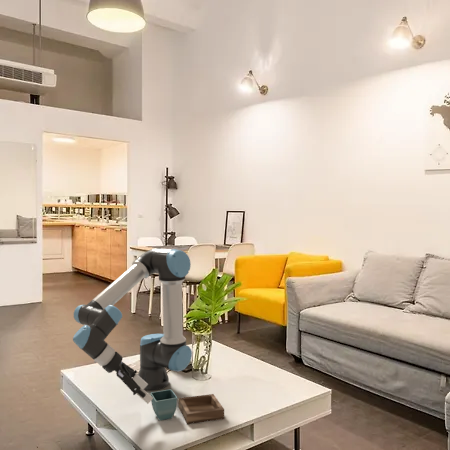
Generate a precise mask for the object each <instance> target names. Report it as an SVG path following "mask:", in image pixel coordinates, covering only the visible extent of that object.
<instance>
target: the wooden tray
mask: <svg viewBox="0 0 450 450" xmlns="http://www.w3.org/2000/svg"><path fill="white" fill-rule="evenodd" d="M178 409H179V412H180V414H181V415H182V417H183V419H184V421H185V424H186V425H193V424H200V423H201V424H202V423H207V422H214V421H222V420H225V408H224V407H223V405H222V404H221V403H220V401H219V400H218V398H217V397H216V396H215V393H210V394H209V393H208V394H203V395H194V396H192V395H191V396H185V397H179V398H178Z"/></svg>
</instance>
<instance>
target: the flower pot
mask: <svg viewBox="0 0 450 450" xmlns="http://www.w3.org/2000/svg"><path fill="white" fill-rule="evenodd" d="M150 396H152V397H153V399H152V400H151V401H150V403H151V406H152V410H153V413H154V414H155V416H156V418H157V419H158V421H164V420H169V419H172V418H173V417H174V415H175V413H176V410H177V404H178V396H177V395H176V394H175V392H174V391H173V389H165V390H164V389H163V390H158V391H151V392H150Z"/></svg>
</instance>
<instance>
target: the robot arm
mask: <svg viewBox="0 0 450 450" xmlns="http://www.w3.org/2000/svg"><path fill="white" fill-rule="evenodd" d="M190 270H191V259H190V256H189V255H188V254H187V253H186V252H185V251H184V250H181V249H177V248H164V247H154V248H151V249H149V250H147V251H145V252H144V253H142V254H141V255H139V256H138V257H137V258H136V259H135V260H133V261H132V263H131V266H130V267H129V268H127V269H126V270H125V271H124V272H123V273H122V274H121V275H120V276H119V277H117V278H116V279H115V280H114V281H113V282H111V283H110V284H109V285H108V286H107V287H106V288H104V289H103V290H102V291H101V292H99V293H98V294H97V295H96V296H95V297H94V298H92V300H90V301H89V302H88V303H87V304H79V305H77V306H76V308H75V309H74V312H73V319H74V320H75V322H77V323H79V324H80V325H83V326H81V327H80V328H79V329H78V330H77V331H76V332H75V333H74V335H73V337H72V341H73V342H74V344H75V345H76V346H77V347H78V348H79V349H80V350H82V351H83V352H84V353H85V354H86V355H88V356H89V357H90V358H91V359H93V362H94V363H95V364H96V363H97V364H98V365H99V366H100V367H101V366H102V369H103V370H105V371H106V373H108V374H109V373H113V372H116V373H115V375H116V376H117V378H119V379H120V381H122V382H123V383H124V385H126V387H127V388H128V389H129V390H130V391H131V392H132V394H133V396H136V395H137V396H138V397H139V398H140V399H142V400H143V402H145V403H146V404H147V405H148V404H149V403H151V400H152V399H153V397H152V396H151V394H150V393H148V392H147V391H156V390H158V391H159V390H163V389H164V388H167V387H168V385H169V383H170V382H169V381H170V380H169V379H170V378H169V375H168V372H167V369H168V370H170V371H174V372H182V371H184V370H185V369H186V368H187V367H188V366H189V364H190V363H191V360H192V356H193V351H192V349H191V347H190V346H188V345H187V338H186V337H185V335H183V334H184V331H183V329H184V328H183V327H184V326H183V283H184V282H185V280H186V276H187V275H188V274H189V273H190ZM154 274H158V280H159V282H160V283H161V285H162V319H163V320H162V324H163V325H162V326H163V327H162V330H163V333H151V334H146V335H144V336H141V338H140V342H139V343H140V345H139V370H138V371H137V370H134V369H133V368H132V367H130V366H129V365H128V364H126V363H125V362H124V361H123V356H122V355H121V354H120V353H119V352H118V351H116V350H115V349H114V347H112V346H111V345H110V344H109V343H108V342H106V341H105V340H106V339H107V337H108V336H109V335H110V334H111V333H112V331H114V329H115V328H116V327H117V325H119V322H120V321H121V320H122V318H123V313H122V311H121V310H120V309H119V308H118V307H117V306H115V304H116V303H118V302H119V301H120V300H121V299H122V298H123V297H124V296H126V294H128V293H129V292H130V291H131V290H132V289H134V287H136V286H137V284H139V283H140V282H141V281H142V280H143V279H147V278H149V277H150V276H152V275H154Z"/></svg>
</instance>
